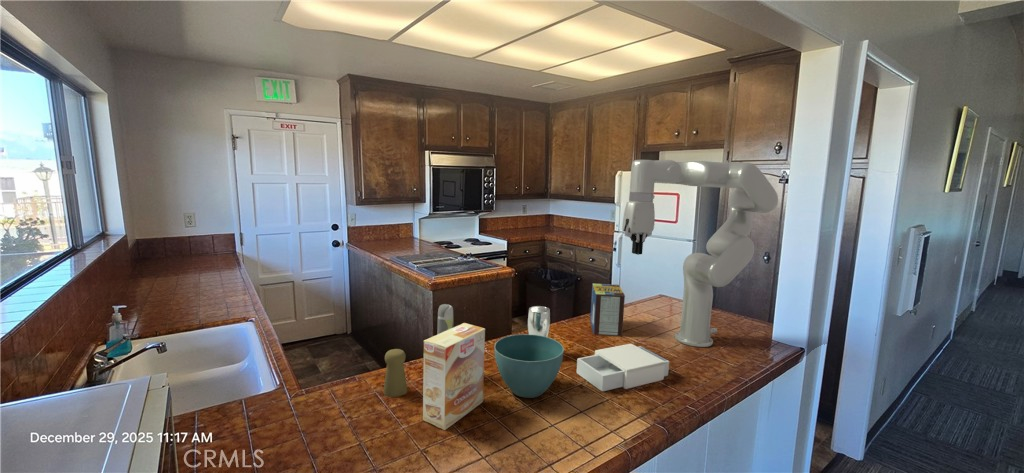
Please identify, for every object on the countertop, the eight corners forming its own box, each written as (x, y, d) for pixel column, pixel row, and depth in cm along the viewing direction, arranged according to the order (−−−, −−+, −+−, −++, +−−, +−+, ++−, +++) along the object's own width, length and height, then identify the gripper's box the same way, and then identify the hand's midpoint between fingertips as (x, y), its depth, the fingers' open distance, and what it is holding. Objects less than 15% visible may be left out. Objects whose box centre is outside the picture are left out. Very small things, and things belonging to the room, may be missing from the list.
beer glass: (523, 356, 135) (525, 310, 133) (530, 348, 142) (532, 304, 140) (544, 360, 133) (546, 313, 131) (551, 352, 139) (553, 307, 137)
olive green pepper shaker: (411, 387, 114) (411, 348, 112) (398, 398, 108) (398, 357, 106) (392, 383, 115) (392, 344, 114) (378, 394, 110) (377, 353, 108)
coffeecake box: (445, 431, 95) (446, 347, 92) (421, 420, 99) (421, 339, 96) (484, 402, 108) (486, 327, 105) (462, 393, 111) (463, 321, 109)
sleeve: (629, 360, 135) (631, 343, 134) (663, 379, 123) (665, 361, 122) (593, 367, 129) (595, 350, 128) (625, 389, 117) (626, 370, 116)
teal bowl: (481, 398, 109) (482, 353, 107) (508, 369, 126) (509, 329, 124) (550, 415, 103) (552, 367, 101) (568, 382, 119) (571, 340, 118)
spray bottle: (457, 372, 123) (458, 305, 120) (443, 378, 119) (444, 309, 116) (446, 367, 126) (447, 301, 123) (432, 372, 123) (433, 304, 120)
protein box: (616, 322, 170) (619, 284, 168) (622, 336, 155) (625, 295, 153) (589, 320, 171) (592, 282, 169) (593, 334, 156) (595, 293, 154)
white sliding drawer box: (639, 359, 136) (640, 346, 135) (668, 375, 125) (669, 361, 124) (576, 372, 125) (577, 358, 124) (602, 391, 114) (603, 376, 114)
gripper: (649, 197, 146) (645, 250, 149) (615, 197, 139) (611, 252, 142) (666, 199, 139) (662, 254, 142) (631, 199, 133) (627, 257, 135)
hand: (636, 253), depth 142 cm, fingers closed
